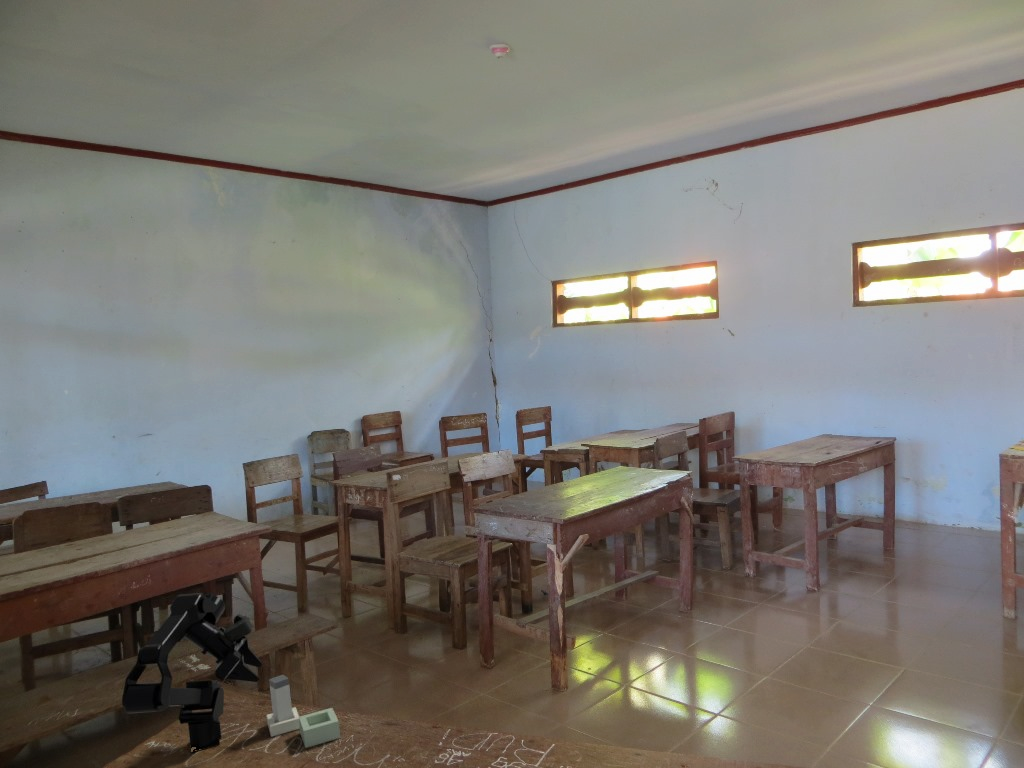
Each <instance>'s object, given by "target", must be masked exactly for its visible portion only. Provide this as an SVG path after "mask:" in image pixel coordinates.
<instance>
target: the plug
mask: <svg viewBox="0 0 1024 768" xmlns="http://www.w3.org/2000/svg"><path fill="white" fill-rule="evenodd" d="M289 679H290V678H289V677H287V676H286V675H285V674H281V675H278V676H275V677H273V678H272V677H271V678H269V679H268V680H269V681H268V682H269V689H270V701H271V708H272V709H271V710H272V713H273V720H274V723H278V722H282V721H285V720H289V719H293V716H292V708H293V707H292V700H291V690H290V689H291V688H290V687H291V686H290V680H289Z"/></svg>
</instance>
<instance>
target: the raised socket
mask: <svg viewBox="0 0 1024 768" xmlns="http://www.w3.org/2000/svg"><path fill="white" fill-rule="evenodd" d="M299 725H300V729H299V733H300V736H301V739H302V742H303V744H304V747H305V749H307V748H310V747H314V746H318V745H321V744H323V743H327V742H330V741H331V742H332V741H334V740H337V739H341V732H340V721H339V719H338V717H337V715H336V713H335V711H334V708H333V707H329V708H326V709H322V710H319V711H315V712H312V713H311V712H310V713H309V714H308V713H307V714H304V715H301V716H300V715H299Z"/></svg>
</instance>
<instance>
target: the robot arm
mask: <svg viewBox="0 0 1024 768" xmlns="http://www.w3.org/2000/svg"><path fill="white" fill-rule="evenodd" d="M169 609H170V615H169V616H168V618H166V619H165V621H164V622H163V624H162V625H161V626H160V627H159V628H158V630H157V631H156V632H155V633H154V635H153V636H152V638H150V639H149V641H148V642H147V643H146V645H144V646H143V647H141V648H140V649H139V650H138V653H137V658H136V663H135V664H134V665H133V667H132V669H131V670H130V672H129V673H128V675H127V677H126V678H125V681H124V687H123V693H122V697H121V698H122V699H121V703H122V704H121V705H122V708H124V712H125V713H126V714H140V713H141V714H142V713H155V712H162V711H164V710H167V709H169V708H170V707H180V711H179V715H178V720H179V724H180V725H183V724H187V727H188V735H189V736H188V737H189V747H190V746H191V748H192V747H196V749H194V750H193V751H195V750H199V749H204V748H207V749H209V748H208V747H211V748H213V747H212V746H215V747H217V746H216V745H218V746H220V744H221V742H220V740H221V739H222V732H221V730H222V729H221V721H220V717H221V716H222V714H224V704H225V703H224V701H225V700H224V699H225V691H224V689H223V687H222V684H221V683H219V680H220V681H222V682H223V681H224V680H225V681H227V680H234V681H235V680H236V681H244V682H252V683H253V682H254V683H257V682H258V681H259V680H260V676H258V675H257V674H256V673H255V672H254V671H253V670H252V669H251V668H250V667H249V666H252V667H256V668H261V667H262V665H263V663H262V661H261V659H259V657H258V656H257V655H256V654H255V652H254V651H253V650H252V649H251V647H250V645H249V636H248V635H249V634H251V633H252V632H253V627H254V625H253V624H252V623H251V621H250V617H248V616H247V615H243V614H241V613H238V614H237V615H235V616H234V617H233V623H232V624H230V626H228V627H227V628H226V627H224V626H219V627H217V626H215V625H216V624H217V622H218V621H219V619H220V618H221V616H222V614H223V613H224V611H225V610H226V603H225V602H224V600H222V598H220V597H218V596H216V595H215V592H206V593H205V594H204V592H197V593H195V592H194V593H187V594H185V593H184V594H178V595H176V597H175V598H174V600H173V601H172V603H171V604H170V606H169ZM184 639H186V640H187V641H189V642H190V643H192V644H193V645H195V646H196V647H198V648H199V649H201V653H202V654H203V655H204V656H205V655H206V654H208V655H210V656H211V657H213V658H214V659H216V660H215V663H216V664H217V665H216V668H215V670H214V673H215V674H214V675H215V677H216V678H217V680H214V679H213V680H211V679H210V680H209V679H208V680H194V681H186V682H185V687H183V688H182V687H172V683H173V676H172V673H171V670H170V669H169V665H168V661H169V660H168V658H169V654H170V653H171V651H172V650H173V649H174V647H175V646H176V644H178V643H181V641H182V640H184ZM153 665H156V666H157V667H158V669H159V672H160V675H161V680H160V681H156V682H155V681H154V682H142V683H138V680H139V679H140V677H141V676H142V674H143V673H144V671H145V670H146V669H147V667H148V666H153ZM218 679H219V680H218ZM204 710H205V711H204ZM204 750H205V749H204Z"/></svg>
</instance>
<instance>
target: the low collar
mask: <svg viewBox="0 0 1024 768" xmlns="http://www.w3.org/2000/svg"><path fill="white" fill-rule="evenodd" d="M292 716H293V719H289V720H285V721H282V722H278V723H274V720H273V712H271V713H269V714H266V722H267V727H268V730H269V731H268V732H269V735H270V737H271V738H272V737H275V736H279V735H283V734H286V733H290V732H294V731H296V730H300V725H299V717H300V714H299V713H298V710H297V707H296V706H294V707H292Z"/></svg>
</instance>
